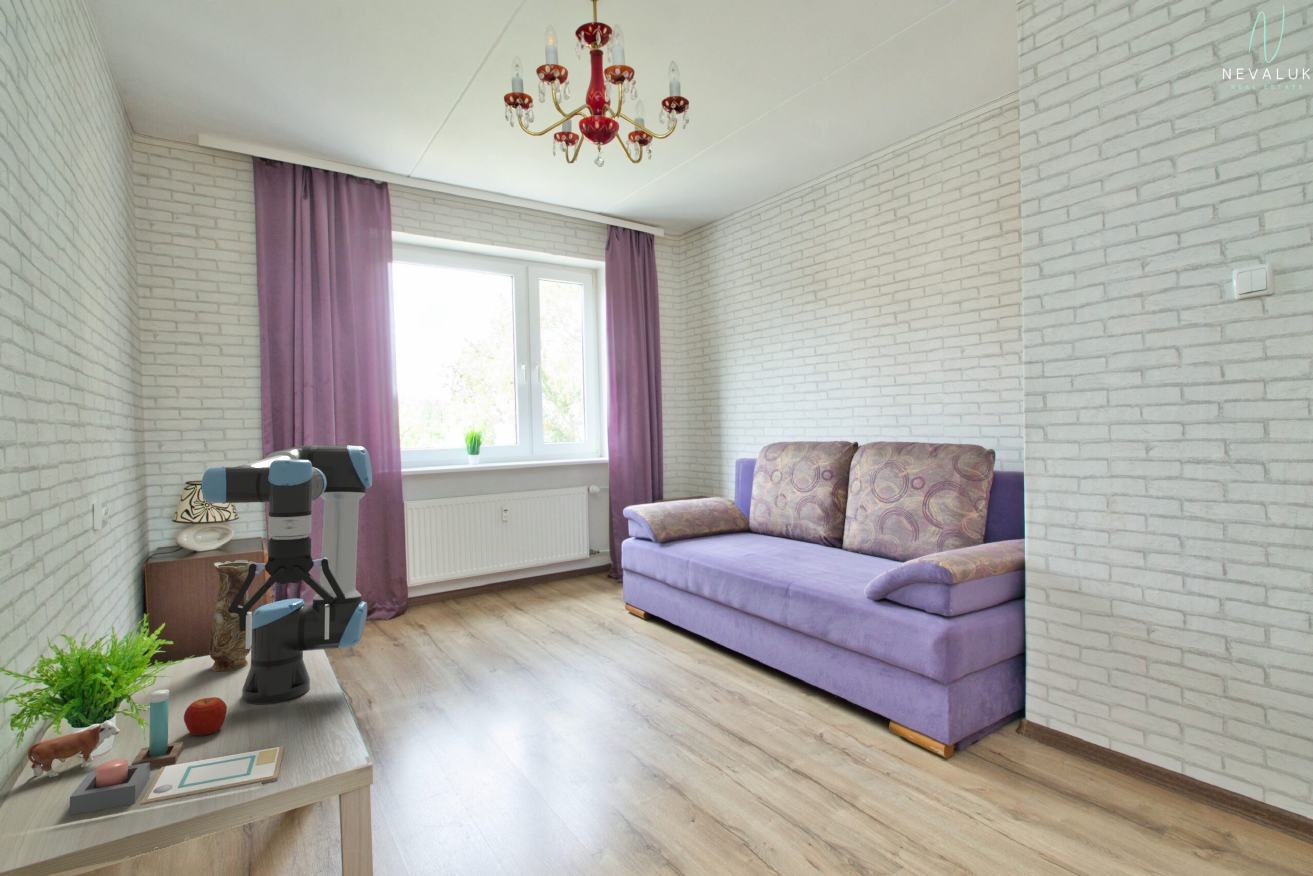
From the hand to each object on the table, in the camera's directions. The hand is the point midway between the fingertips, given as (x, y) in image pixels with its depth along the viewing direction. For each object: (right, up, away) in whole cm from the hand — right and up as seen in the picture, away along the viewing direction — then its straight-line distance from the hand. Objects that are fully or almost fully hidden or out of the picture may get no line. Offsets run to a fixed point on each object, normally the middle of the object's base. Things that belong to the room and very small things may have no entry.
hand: (288, 642), depth 128 cm
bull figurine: (-41, -25, -2) cm, 48 cm away
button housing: (-25, -25, -12) cm, 37 cm away
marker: (-27, -24, +2) cm, 37 cm away
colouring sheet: (-12, -25, -4) cm, 28 cm away
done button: (-25, -22, -12) cm, 35 cm away
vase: (-49, -25, +56) cm, 79 cm away
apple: (-27, -25, +14) cm, 39 cm away
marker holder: (-27, -25, +2) cm, 37 cm away
